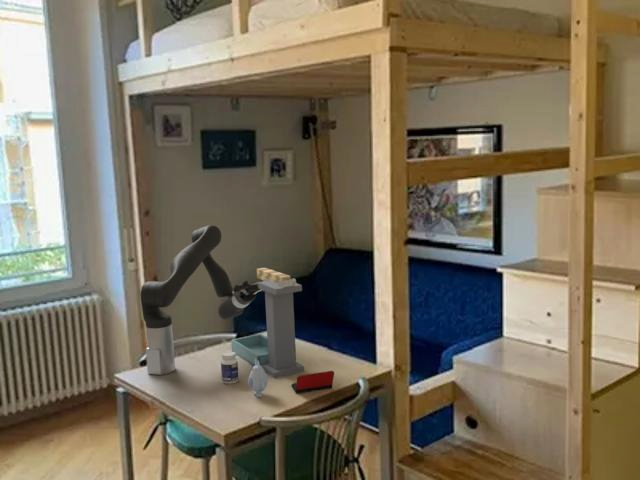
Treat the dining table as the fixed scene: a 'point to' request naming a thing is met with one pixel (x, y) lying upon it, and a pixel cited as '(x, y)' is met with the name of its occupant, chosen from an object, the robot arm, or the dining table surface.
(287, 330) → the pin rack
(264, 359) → the teal tray
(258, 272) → the maple pin
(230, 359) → the pill bottle
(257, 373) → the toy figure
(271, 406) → the dining table surface
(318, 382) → the handheld game console
